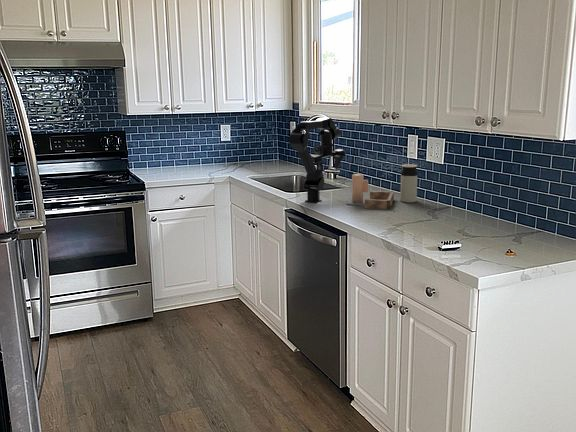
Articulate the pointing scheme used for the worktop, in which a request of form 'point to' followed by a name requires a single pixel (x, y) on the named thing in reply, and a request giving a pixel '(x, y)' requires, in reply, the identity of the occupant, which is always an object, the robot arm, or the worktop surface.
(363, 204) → the mat
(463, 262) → the worktop surface
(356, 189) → the tan rounded upright piece
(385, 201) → the cradle
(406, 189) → the travel mug
